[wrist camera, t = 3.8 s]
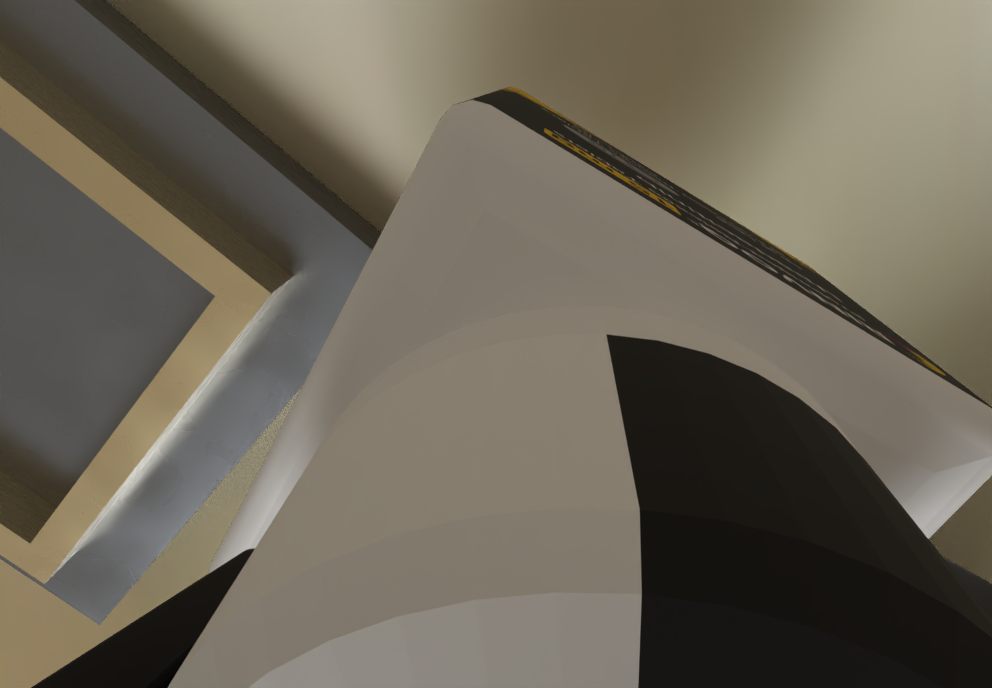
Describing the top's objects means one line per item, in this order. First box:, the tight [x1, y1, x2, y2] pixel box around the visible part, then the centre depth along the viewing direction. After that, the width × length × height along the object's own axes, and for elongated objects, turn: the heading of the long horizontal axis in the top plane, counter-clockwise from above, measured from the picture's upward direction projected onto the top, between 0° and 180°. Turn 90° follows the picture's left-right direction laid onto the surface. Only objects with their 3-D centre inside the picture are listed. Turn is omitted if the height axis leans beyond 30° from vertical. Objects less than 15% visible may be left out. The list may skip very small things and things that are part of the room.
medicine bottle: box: [168, 87, 992, 688], centre depth 9 cm, size 7×7×12 cm
